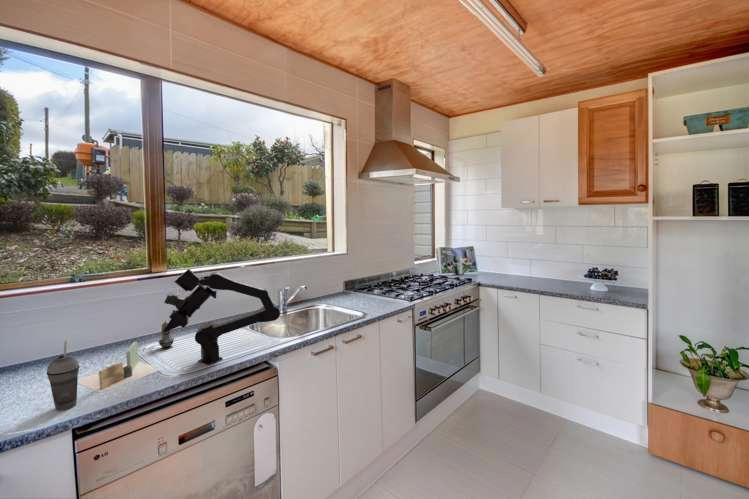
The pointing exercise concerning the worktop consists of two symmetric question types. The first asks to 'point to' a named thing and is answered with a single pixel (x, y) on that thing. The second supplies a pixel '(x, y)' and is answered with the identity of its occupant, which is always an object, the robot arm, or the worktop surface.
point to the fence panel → (132, 355)
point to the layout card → (137, 372)
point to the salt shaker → (165, 338)
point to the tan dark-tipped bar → (113, 374)
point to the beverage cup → (63, 380)
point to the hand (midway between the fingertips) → (164, 331)
